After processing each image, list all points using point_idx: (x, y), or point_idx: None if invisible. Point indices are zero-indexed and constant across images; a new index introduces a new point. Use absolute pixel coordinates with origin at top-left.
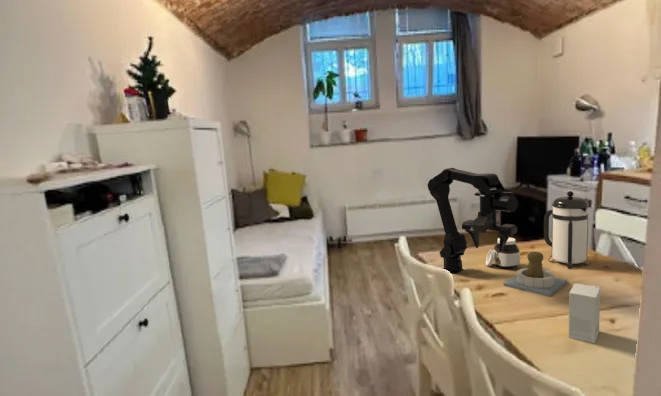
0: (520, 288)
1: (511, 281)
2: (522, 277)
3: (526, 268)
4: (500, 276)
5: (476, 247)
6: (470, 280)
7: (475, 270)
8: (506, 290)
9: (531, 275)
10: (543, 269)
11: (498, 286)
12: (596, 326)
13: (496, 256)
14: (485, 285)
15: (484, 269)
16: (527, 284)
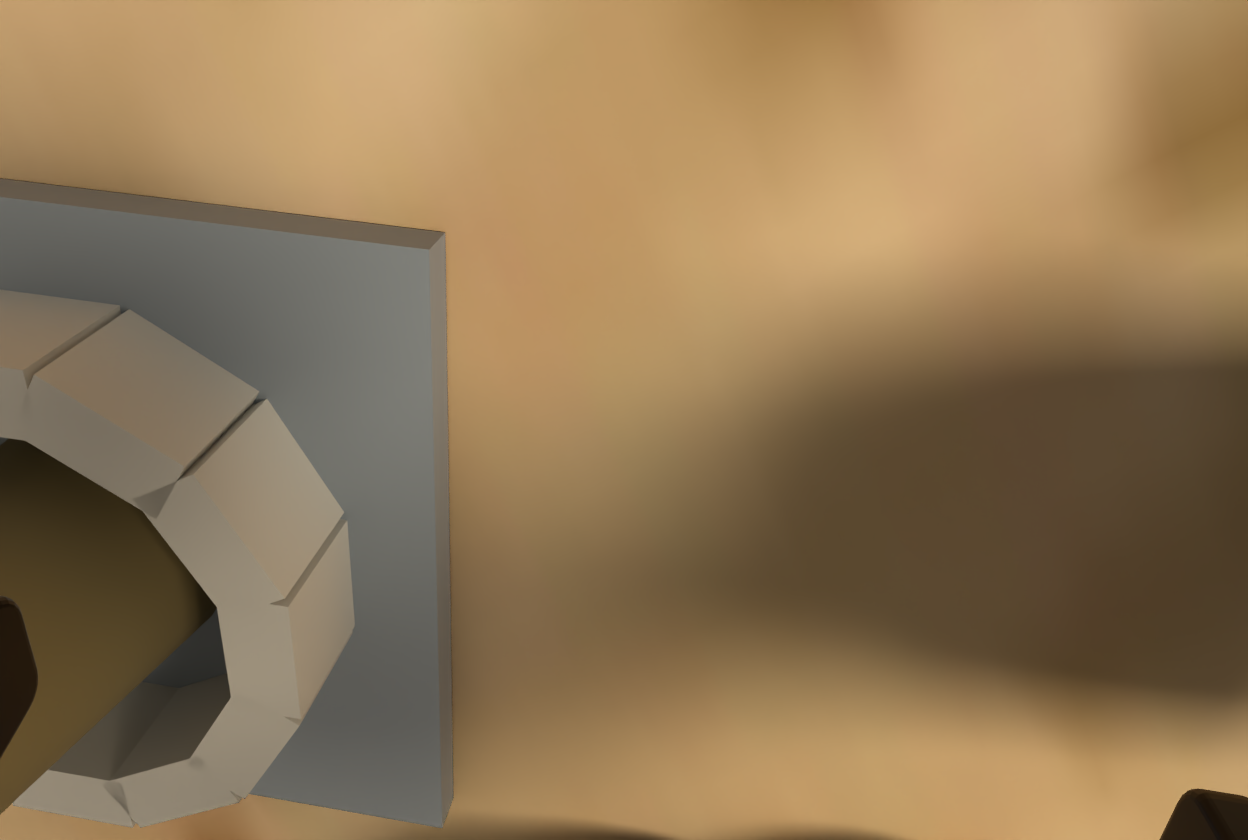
0: (138, 202)
1: (356, 379)
2: (71, 384)
3: (245, 771)
4: (663, 591)
5: (1227, 808)
6: (1106, 171)
7: (1143, 682)
8: (293, 20)
9: (2, 515)
10: (48, 806)
11: (497, 142)
12: None
13: None
14: (726, 58)
15: (1003, 766)
16: (43, 309)
